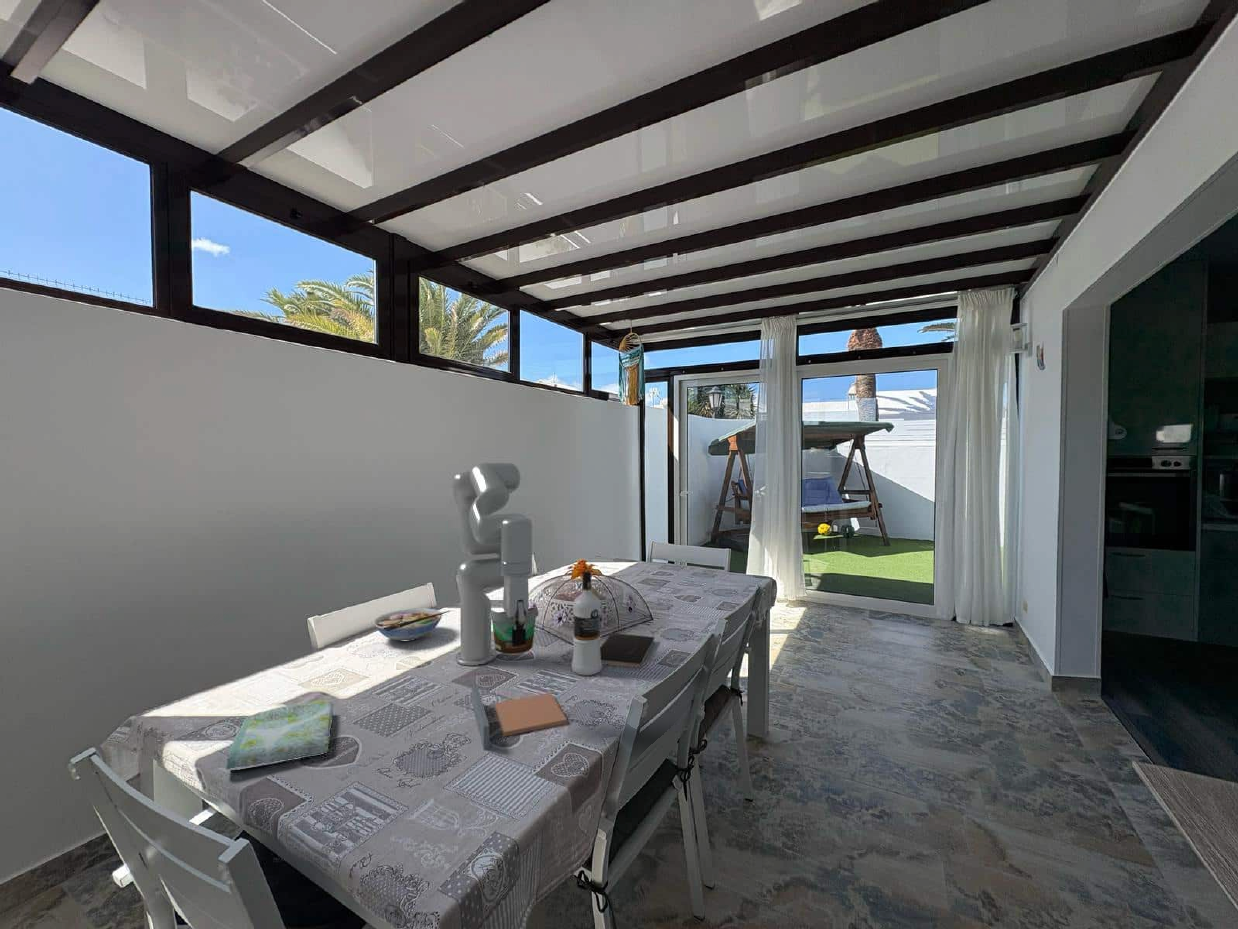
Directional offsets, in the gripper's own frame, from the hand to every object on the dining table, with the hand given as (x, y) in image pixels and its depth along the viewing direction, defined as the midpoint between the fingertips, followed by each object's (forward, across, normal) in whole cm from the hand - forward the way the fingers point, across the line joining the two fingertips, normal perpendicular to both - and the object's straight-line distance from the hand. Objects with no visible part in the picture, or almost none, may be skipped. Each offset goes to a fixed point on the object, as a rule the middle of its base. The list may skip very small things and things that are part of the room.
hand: (516, 640), depth 126 cm
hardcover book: (+20, -30, +41) cm, 54 cm away
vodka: (+20, -20, +25) cm, 37 cm away
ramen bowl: (+20, -69, -26) cm, 77 cm away
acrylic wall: (+19, 0, -9) cm, 21 cm away
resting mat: (+19, 0, +3) cm, 19 cm away
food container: (+3, +1, 0) cm, 3 cm away
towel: (+20, -8, -51) cm, 55 cm away
